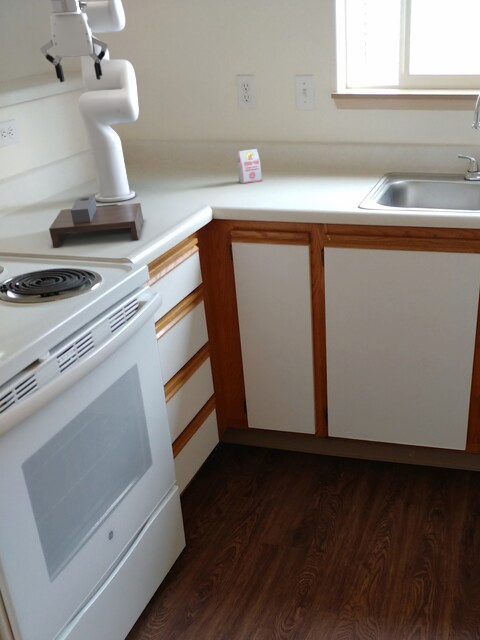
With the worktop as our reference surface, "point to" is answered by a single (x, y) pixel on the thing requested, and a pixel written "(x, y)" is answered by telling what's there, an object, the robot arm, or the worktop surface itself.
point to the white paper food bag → (249, 166)
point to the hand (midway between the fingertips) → (80, 80)
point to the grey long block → (83, 209)
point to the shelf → (99, 221)
